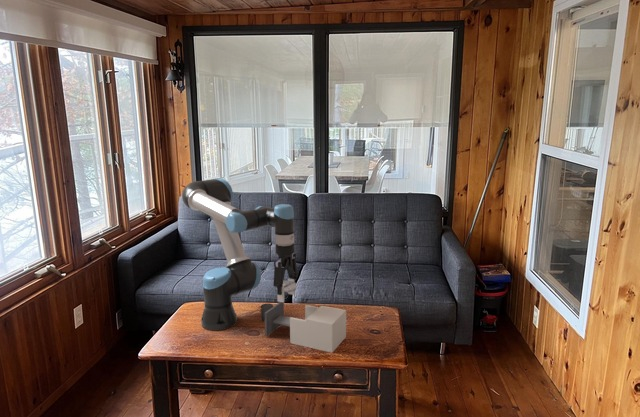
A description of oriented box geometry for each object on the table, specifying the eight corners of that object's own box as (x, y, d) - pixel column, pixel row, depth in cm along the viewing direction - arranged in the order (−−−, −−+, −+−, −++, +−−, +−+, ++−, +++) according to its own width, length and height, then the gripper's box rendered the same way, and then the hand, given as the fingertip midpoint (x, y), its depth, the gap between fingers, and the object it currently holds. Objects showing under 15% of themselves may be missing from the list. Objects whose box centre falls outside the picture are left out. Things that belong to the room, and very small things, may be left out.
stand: (258, 320, 193) (258, 307, 192) (265, 315, 198) (265, 302, 197) (269, 322, 191) (269, 309, 190) (276, 317, 196) (275, 304, 195)
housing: (290, 343, 173) (289, 315, 171) (306, 328, 185) (306, 302, 183) (332, 352, 165) (332, 324, 163) (346, 336, 178) (346, 310, 175)
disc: (272, 290, 176) (272, 286, 175) (282, 284, 183) (282, 279, 183) (290, 293, 172) (289, 289, 172) (299, 287, 180) (299, 282, 179)
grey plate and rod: (264, 335, 178) (263, 312, 176) (281, 321, 190) (281, 300, 188) (303, 344, 170) (303, 320, 168) (318, 329, 183) (318, 307, 181)
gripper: (279, 251, 163) (281, 308, 168) (305, 238, 182) (306, 290, 186) (262, 249, 167) (264, 305, 171) (289, 236, 185) (290, 287, 189)
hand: (286, 297), depth 178 cm, fingers closed on disc, 8 cm apart
